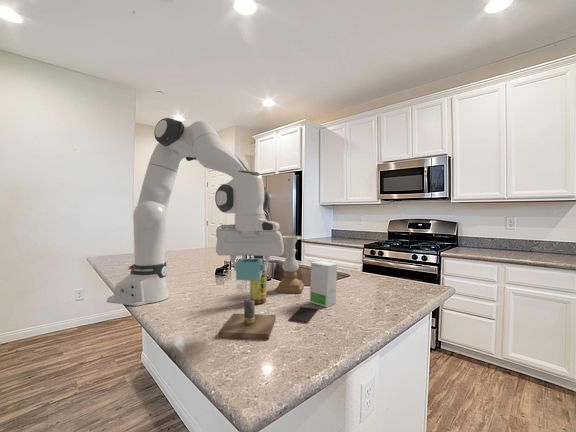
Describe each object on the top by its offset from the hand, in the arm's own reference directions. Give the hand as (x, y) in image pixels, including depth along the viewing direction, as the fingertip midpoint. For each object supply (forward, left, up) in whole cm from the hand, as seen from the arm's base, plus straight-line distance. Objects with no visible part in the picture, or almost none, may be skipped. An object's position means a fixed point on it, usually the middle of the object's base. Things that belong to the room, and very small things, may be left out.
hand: (250, 270), depth 84 cm
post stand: (0, 0, -17) cm, 17 cm away
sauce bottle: (-2, +24, -18) cm, 30 cm away
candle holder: (+9, +42, -18) cm, 46 cm away
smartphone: (+16, +12, -18) cm, 27 cm away
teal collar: (0, -1, -2) cm, 2 cm away
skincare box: (+23, +25, -18) cm, 38 cm away
